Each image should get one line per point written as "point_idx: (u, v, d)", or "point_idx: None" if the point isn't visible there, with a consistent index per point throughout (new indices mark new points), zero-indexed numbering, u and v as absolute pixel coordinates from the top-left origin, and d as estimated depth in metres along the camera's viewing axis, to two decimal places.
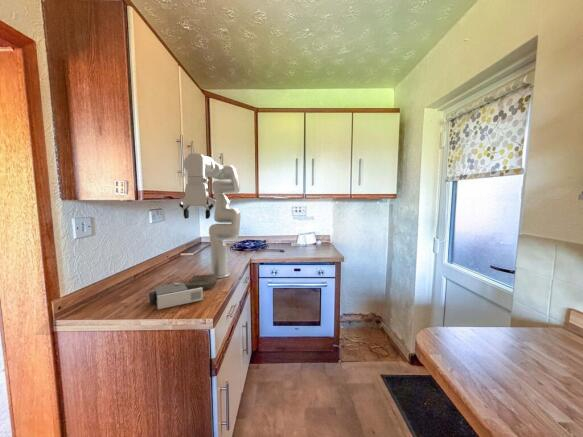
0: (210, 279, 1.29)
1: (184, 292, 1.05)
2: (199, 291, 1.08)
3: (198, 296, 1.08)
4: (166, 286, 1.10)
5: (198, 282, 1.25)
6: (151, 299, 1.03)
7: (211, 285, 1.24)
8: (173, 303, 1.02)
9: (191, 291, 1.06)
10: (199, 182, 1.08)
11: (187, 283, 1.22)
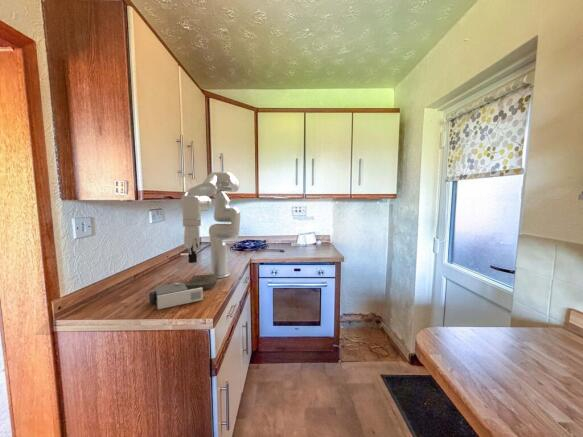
0: (210, 279, 1.29)
1: (184, 292, 1.05)
2: (199, 291, 1.08)
3: (198, 296, 1.08)
4: (166, 286, 1.10)
5: (198, 282, 1.25)
6: (151, 299, 1.03)
7: (211, 285, 1.24)
8: (173, 303, 1.02)
9: (191, 291, 1.06)
10: None
11: (187, 283, 1.22)
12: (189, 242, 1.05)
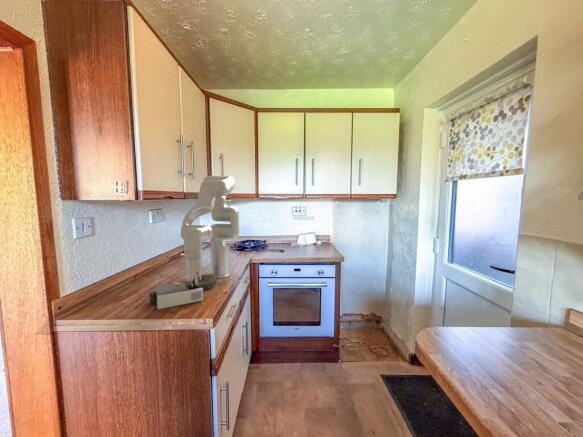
0: (210, 279, 1.29)
1: (184, 292, 1.04)
2: (199, 291, 1.08)
3: (198, 296, 1.07)
4: (166, 286, 1.10)
5: (198, 282, 1.25)
6: (151, 299, 1.03)
7: (211, 285, 1.24)
8: (173, 303, 1.02)
9: (191, 291, 1.06)
10: None
11: (187, 283, 1.22)
12: (191, 275, 1.04)
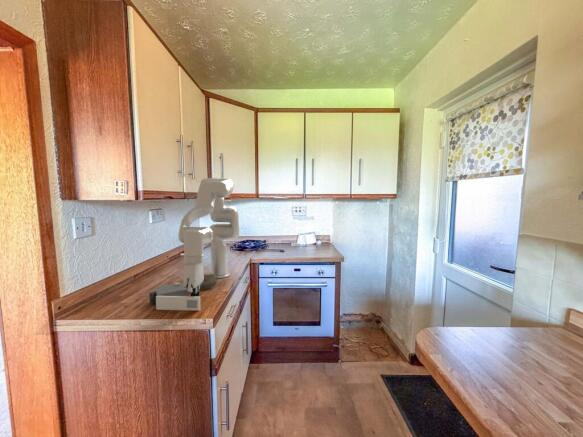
0: (210, 279, 1.29)
1: (180, 298, 0.99)
2: (195, 300, 0.98)
3: (194, 305, 0.98)
4: (166, 286, 1.10)
5: None
6: (151, 299, 1.03)
7: (211, 285, 1.24)
8: (170, 307, 0.99)
9: (187, 298, 0.98)
10: None
11: None
12: (184, 281, 0.96)
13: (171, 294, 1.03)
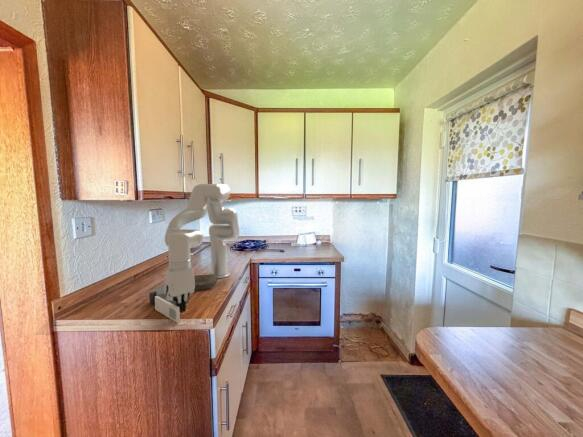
0: (210, 279, 1.29)
1: (166, 304, 0.93)
2: (174, 310, 0.89)
3: (173, 316, 0.89)
4: None
5: (198, 282, 1.25)
6: (151, 299, 1.03)
7: (211, 285, 1.24)
8: (161, 310, 0.96)
9: (170, 306, 0.91)
10: (190, 266, 0.92)
11: None
12: (164, 288, 0.89)
13: None
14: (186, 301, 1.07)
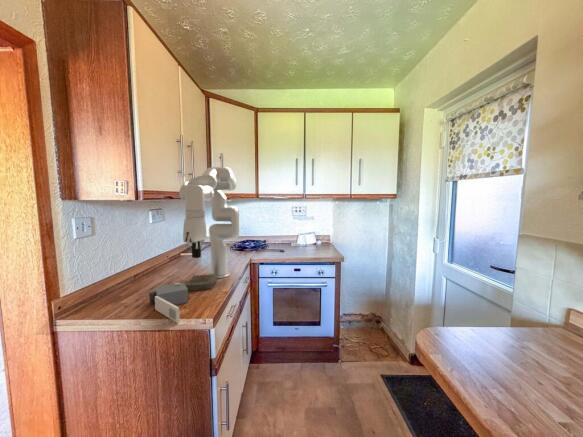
0: (210, 279, 1.29)
1: (166, 304, 0.93)
2: (174, 310, 0.89)
3: (173, 316, 0.89)
4: (166, 286, 1.10)
5: (198, 282, 1.25)
6: (151, 299, 1.03)
7: (211, 285, 1.24)
8: (161, 310, 0.96)
9: (170, 306, 0.91)
10: (204, 216, 1.03)
11: (187, 283, 1.22)
12: (183, 235, 0.97)
13: (171, 294, 1.03)
14: (186, 301, 1.07)
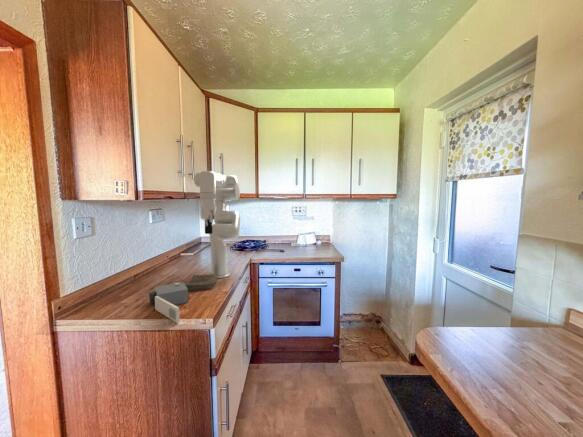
0: (210, 279, 1.29)
1: (166, 304, 0.93)
2: (174, 310, 0.89)
3: (173, 316, 0.89)
4: (166, 286, 1.10)
5: (198, 282, 1.25)
6: (151, 299, 1.03)
7: (211, 285, 1.24)
8: (161, 310, 0.96)
9: (170, 306, 0.91)
10: None
11: (187, 283, 1.22)
12: (206, 213, 1.14)
13: (171, 294, 1.03)
14: (186, 301, 1.07)
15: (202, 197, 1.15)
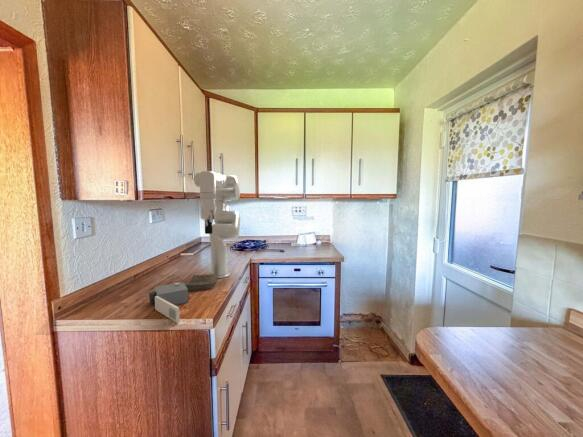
0: (210, 279, 1.29)
1: (166, 304, 0.93)
2: (174, 310, 0.89)
3: (173, 316, 0.89)
4: (166, 286, 1.10)
5: (198, 282, 1.25)
6: (151, 299, 1.03)
7: (211, 285, 1.24)
8: (161, 310, 0.96)
9: (170, 306, 0.91)
10: None
11: (187, 283, 1.22)
12: (206, 213, 1.14)
13: (171, 294, 1.03)
14: (186, 301, 1.07)
15: (202, 197, 1.15)
